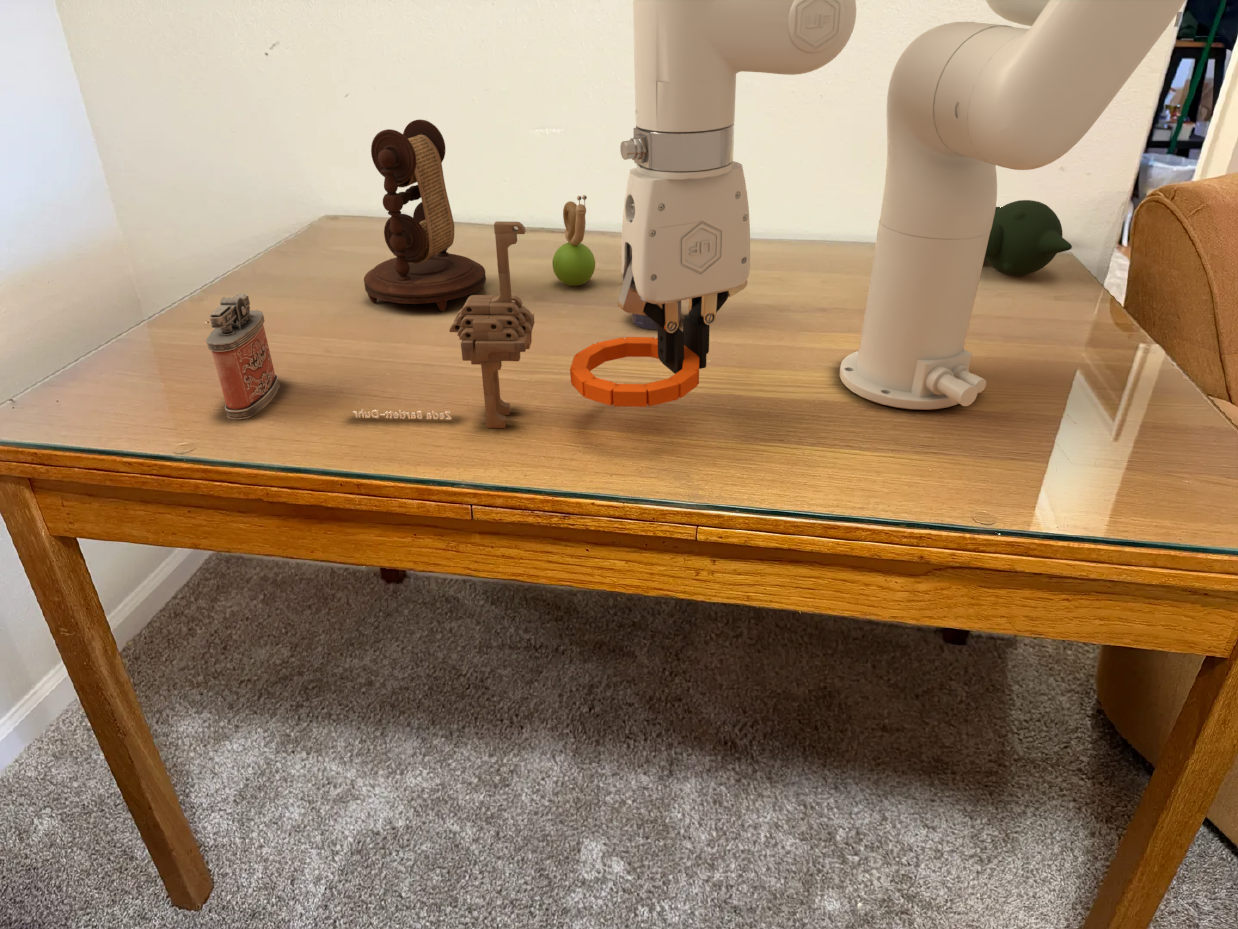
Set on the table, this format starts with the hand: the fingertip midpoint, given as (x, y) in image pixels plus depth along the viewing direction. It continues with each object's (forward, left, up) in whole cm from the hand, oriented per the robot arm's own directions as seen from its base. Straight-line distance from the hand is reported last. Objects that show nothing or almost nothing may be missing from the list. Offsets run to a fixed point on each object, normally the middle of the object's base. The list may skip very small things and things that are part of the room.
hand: (683, 364), depth 75 cm
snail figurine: (+37, -4, -5) cm, 38 cm away
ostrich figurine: (+9, +20, -5) cm, 22 cm away
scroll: (+42, +14, -5) cm, 45 cm away
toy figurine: (+24, -54, -1) cm, 60 cm away
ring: (0, +5, 0) cm, 5 cm away
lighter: (+20, +36, -5) cm, 41 cm away
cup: (+22, -8, -5) cm, 24 cm away
